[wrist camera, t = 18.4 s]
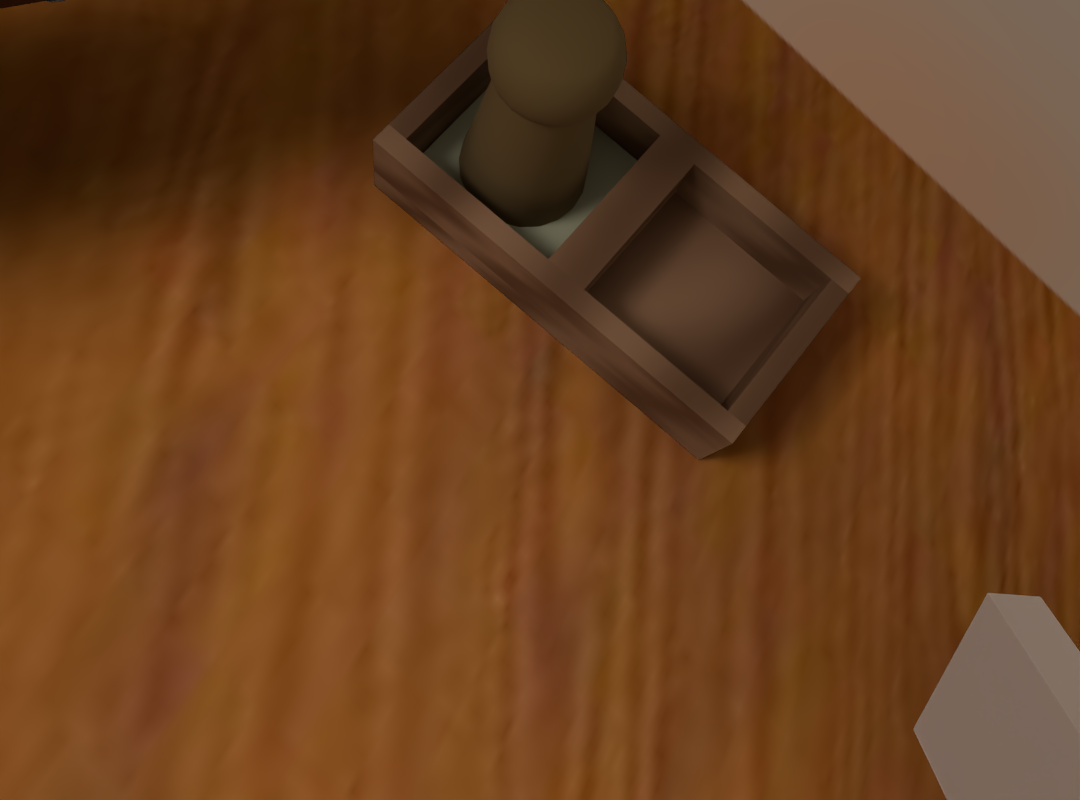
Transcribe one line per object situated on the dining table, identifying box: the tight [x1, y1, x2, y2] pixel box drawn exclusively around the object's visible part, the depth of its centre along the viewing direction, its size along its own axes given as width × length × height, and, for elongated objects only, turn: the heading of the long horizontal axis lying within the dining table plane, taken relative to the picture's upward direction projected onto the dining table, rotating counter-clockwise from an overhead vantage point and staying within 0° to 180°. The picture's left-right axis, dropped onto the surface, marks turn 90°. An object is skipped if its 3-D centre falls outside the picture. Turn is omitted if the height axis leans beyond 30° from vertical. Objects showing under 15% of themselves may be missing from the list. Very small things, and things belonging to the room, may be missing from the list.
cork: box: [459, 0, 627, 227], centre depth 39 cm, size 6×6×11 cm
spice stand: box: [373, 22, 861, 460], centre depth 44 cm, size 20×10×4 cm, turn 50°
